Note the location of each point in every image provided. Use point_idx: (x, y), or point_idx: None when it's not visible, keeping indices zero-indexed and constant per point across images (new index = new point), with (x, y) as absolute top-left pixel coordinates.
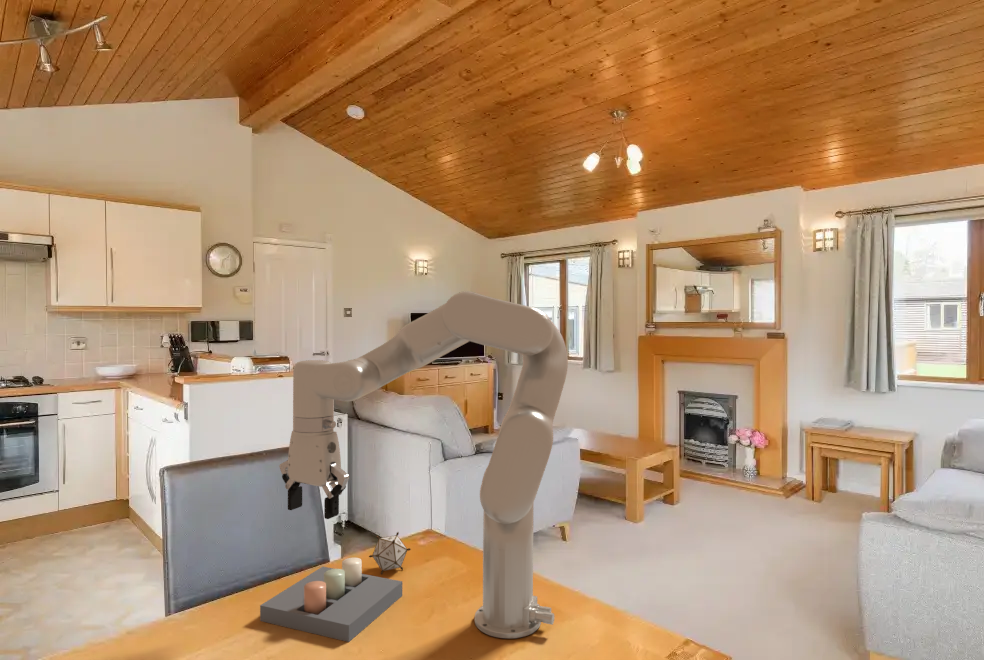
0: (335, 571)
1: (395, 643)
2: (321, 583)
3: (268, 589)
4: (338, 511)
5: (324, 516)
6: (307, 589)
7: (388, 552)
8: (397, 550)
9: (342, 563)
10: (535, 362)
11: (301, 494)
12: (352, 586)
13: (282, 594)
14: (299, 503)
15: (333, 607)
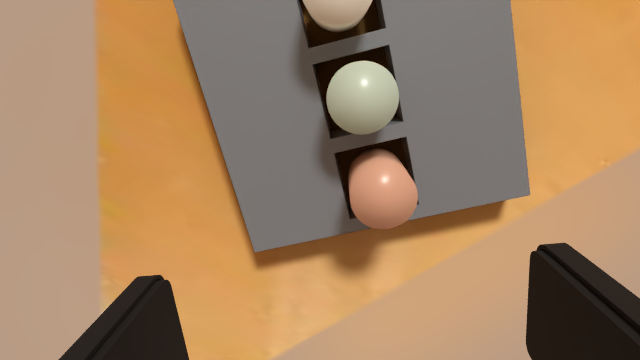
0: (355, 87)
1: (618, 123)
2: (389, 177)
3: (124, 127)
4: (576, 254)
5: (531, 357)
6: (384, 227)
7: None
8: None
9: (322, 21)
10: None
11: (121, 349)
12: (362, 18)
13: (246, 186)
14: (163, 318)
15: (424, 155)
